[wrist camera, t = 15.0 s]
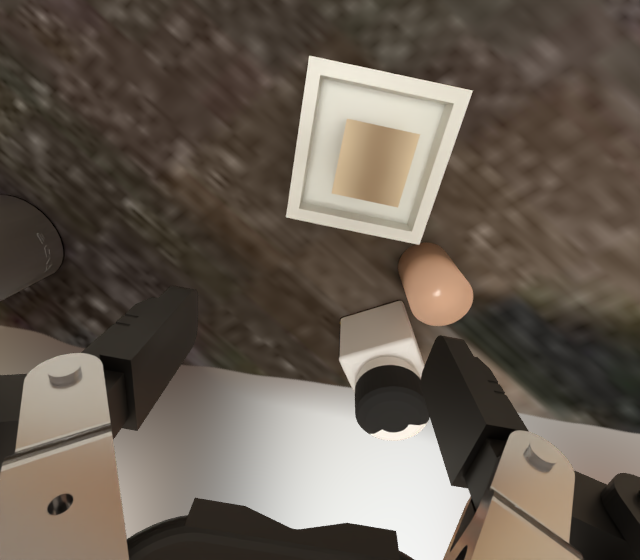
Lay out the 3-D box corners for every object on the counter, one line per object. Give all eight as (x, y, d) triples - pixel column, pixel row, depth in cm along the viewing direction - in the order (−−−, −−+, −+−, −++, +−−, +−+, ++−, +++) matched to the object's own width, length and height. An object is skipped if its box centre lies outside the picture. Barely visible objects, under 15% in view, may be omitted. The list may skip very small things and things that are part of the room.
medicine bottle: (339, 317, 36) (335, 400, 26) (401, 298, 35) (426, 378, 24) (360, 365, 39) (365, 458, 28) (419, 349, 37) (448, 442, 27)
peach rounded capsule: (391, 282, 34) (402, 319, 28) (406, 237, 32) (421, 266, 26) (438, 292, 34) (459, 331, 28) (456, 248, 32) (483, 279, 26)
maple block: (334, 179, 29) (331, 193, 24) (346, 118, 27) (346, 118, 22) (388, 191, 29) (398, 207, 24) (405, 131, 27) (420, 134, 22)
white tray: (291, 209, 31) (286, 217, 29) (313, 62, 26) (309, 55, 23) (413, 234, 32) (419, 244, 29) (459, 93, 26) (472, 90, 24)
